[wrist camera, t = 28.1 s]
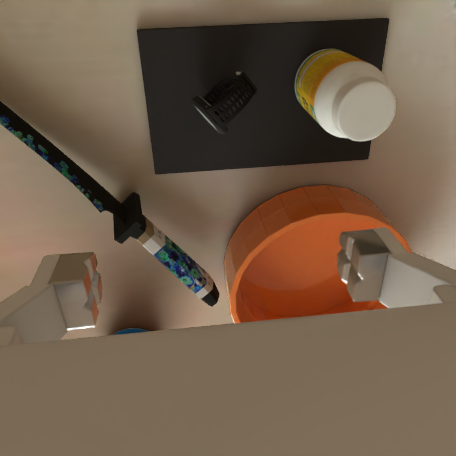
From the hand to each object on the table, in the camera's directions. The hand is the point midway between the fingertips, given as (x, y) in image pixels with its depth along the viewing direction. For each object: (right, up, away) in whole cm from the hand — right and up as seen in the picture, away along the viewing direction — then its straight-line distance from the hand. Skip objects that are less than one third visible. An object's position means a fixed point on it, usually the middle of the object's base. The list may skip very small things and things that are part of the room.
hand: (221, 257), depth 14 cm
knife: (-11, +5, +25) cm, 28 cm away
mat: (+3, +12, +23) cm, 26 cm away
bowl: (+9, -2, +32) cm, 33 cm away
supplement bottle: (+8, +14, +22) cm, 27 cm away
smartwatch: (0, +12, +22) cm, 25 cm away
